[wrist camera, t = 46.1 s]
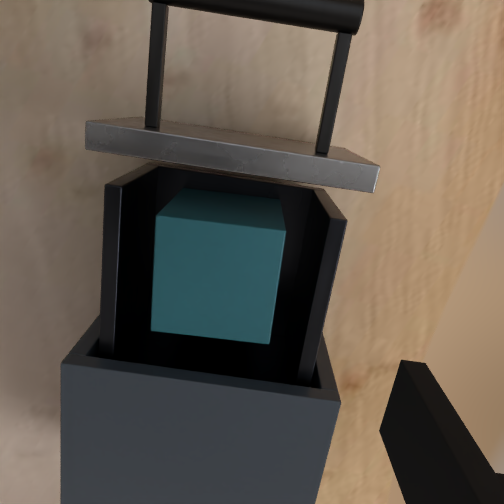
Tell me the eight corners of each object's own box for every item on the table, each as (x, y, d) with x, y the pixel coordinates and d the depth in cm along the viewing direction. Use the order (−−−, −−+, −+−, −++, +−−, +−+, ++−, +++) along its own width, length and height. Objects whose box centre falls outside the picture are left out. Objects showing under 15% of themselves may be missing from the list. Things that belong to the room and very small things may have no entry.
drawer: (147, -6, 24) (88, -62, 16) (369, 30, 24) (423, -7, 16) (128, 315, 30) (79, 390, 22) (303, 341, 30) (318, 423, 23)
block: (176, 278, 28) (150, 331, 21) (182, 187, 26) (155, 215, 19) (267, 288, 28) (269, 345, 21) (280, 199, 26) (286, 230, 19)
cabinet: (125, 280, 30) (60, 363, 21) (316, 308, 31) (341, 402, 21) (116, 444, 35) (59, 575, 25) (281, 467, 35) (289, 604, 26)
